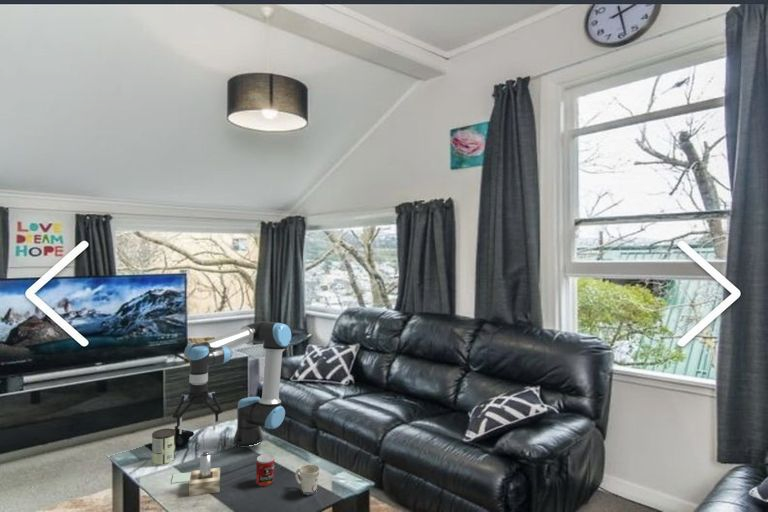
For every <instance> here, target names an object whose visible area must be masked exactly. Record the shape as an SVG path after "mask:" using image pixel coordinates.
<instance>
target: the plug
mask: <svg viewBox="0 0 768 512" xmlns="http://www.w3.org/2000/svg"><path fill="white" fill-rule="evenodd" d="M211 469H212V453H211V452H209V451H207V450H205V451H203V452H202V453H201V454H200V455H199V470H200V479H207V478H211Z"/></svg>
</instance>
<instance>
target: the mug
mask: <svg viewBox="0 0 768 512" xmlns="http://www.w3.org/2000/svg"><path fill="white" fill-rule="evenodd" d="M298 474H299V477H300V479H299V477H298ZM319 475H320V467H319V466H318V465H316V464H305V465H303V466H301V467H300V468H298V469H296V471H295V473H294V476H295V480H296V482H297V484H299V485H301V492H302V491H303V492H313V491H315V490H316V489H318V482H319ZM316 491H317V490H316Z"/></svg>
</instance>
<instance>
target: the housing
mask: <svg viewBox="0 0 768 512" xmlns="http://www.w3.org/2000/svg"><path fill="white" fill-rule="evenodd" d="M190 472H191V476H190V481H189V486H188V487H189V488H188V496H189V497H192V496H200V495H206V494H214V493H220V490H221V489H220V485H221V467H214V468H212V467H211V478H207V479H200V469H199V470H198V469H197V470H196V469H195V470H191V471H190Z"/></svg>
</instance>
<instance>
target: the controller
mask: <svg viewBox="0 0 768 512" xmlns="http://www.w3.org/2000/svg"><path fill="white" fill-rule="evenodd" d="M173 429H174V430H175V431H176V432H175V447H176V446H177V447H180V448H181V447H184V446H186V445H187V444H188V443H189V442H190V438H192V437H193V436H194V435H195V433H194V431H193V430H185V429H182V433H181V434H180V426H177V425H175V426H174V428H173ZM180 438H181V439H182V442H181V441H180Z"/></svg>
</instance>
